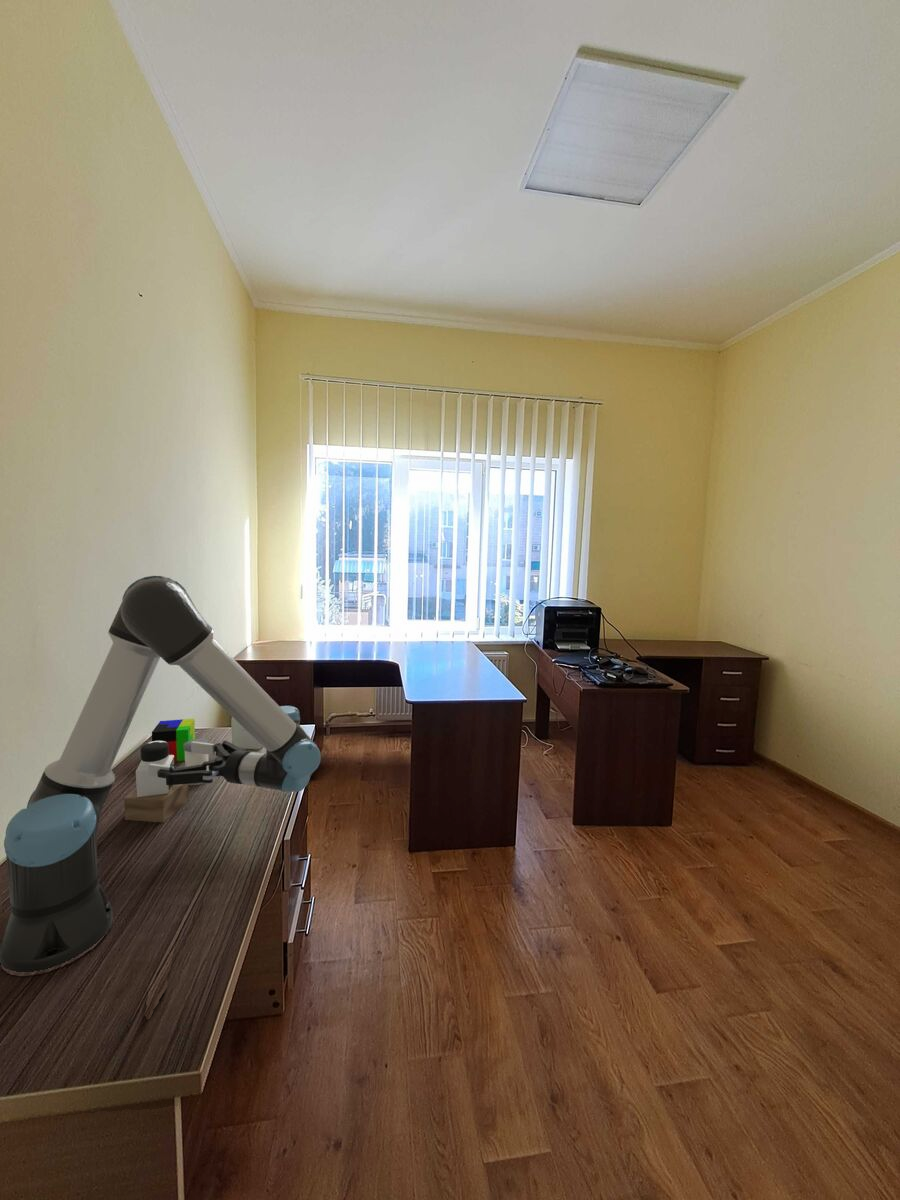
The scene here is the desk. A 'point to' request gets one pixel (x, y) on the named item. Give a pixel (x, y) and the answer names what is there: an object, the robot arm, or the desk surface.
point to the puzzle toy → (175, 735)
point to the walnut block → (155, 804)
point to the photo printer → (243, 737)
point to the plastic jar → (195, 756)
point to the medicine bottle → (148, 784)
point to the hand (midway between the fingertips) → (172, 757)
